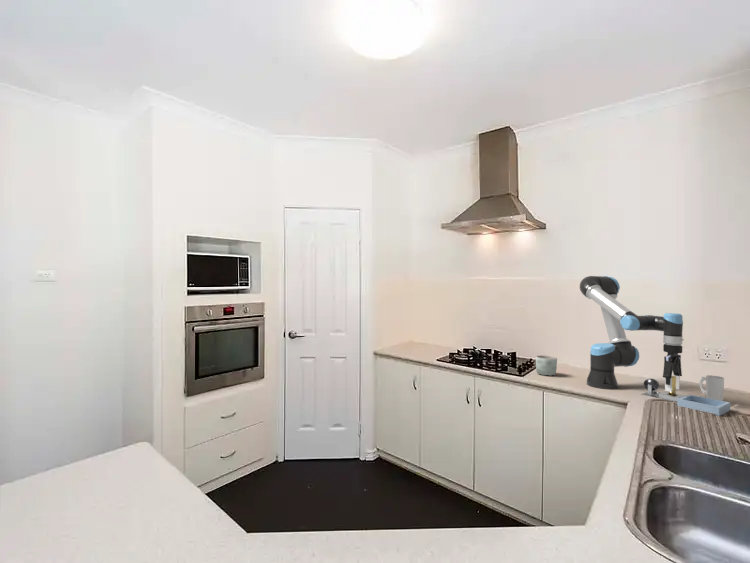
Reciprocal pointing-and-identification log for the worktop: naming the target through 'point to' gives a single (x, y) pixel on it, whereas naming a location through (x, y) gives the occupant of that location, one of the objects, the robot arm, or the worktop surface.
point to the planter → (546, 365)
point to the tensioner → (654, 385)
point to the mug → (713, 387)
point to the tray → (704, 404)
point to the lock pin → (673, 386)
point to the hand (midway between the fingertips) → (672, 389)
